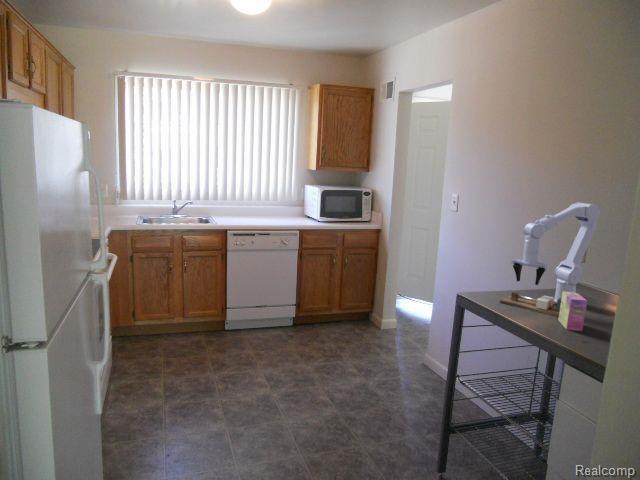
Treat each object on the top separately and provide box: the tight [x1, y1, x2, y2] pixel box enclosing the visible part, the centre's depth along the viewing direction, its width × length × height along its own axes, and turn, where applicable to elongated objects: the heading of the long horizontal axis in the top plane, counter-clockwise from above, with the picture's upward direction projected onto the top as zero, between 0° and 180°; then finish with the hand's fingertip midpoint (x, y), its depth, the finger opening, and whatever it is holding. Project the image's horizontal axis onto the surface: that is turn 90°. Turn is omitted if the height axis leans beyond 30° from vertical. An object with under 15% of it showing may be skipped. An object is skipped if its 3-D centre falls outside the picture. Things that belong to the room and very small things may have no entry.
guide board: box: [499, 290, 559, 318], centre depth 199 cm, size 11×26×4 cm, turn 48°
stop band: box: [549, 300, 555, 308], centre depth 195 cm, size 3×1×3 cm, turn 138°
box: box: [557, 291, 588, 332], centre depth 177 cm, size 10×6×12 cm, turn 168°
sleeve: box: [536, 295, 555, 310], centre depth 196 cm, size 9×4×3 cm, turn 138°
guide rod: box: [517, 294, 557, 307], centre depth 198 cm, size 1×19×1 cm, turn 48°
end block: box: [556, 297, 562, 312], centre depth 192 cm, size 4×3×5 cm
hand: (527, 282), depth 203 cm, fingers open, 7 cm apart
